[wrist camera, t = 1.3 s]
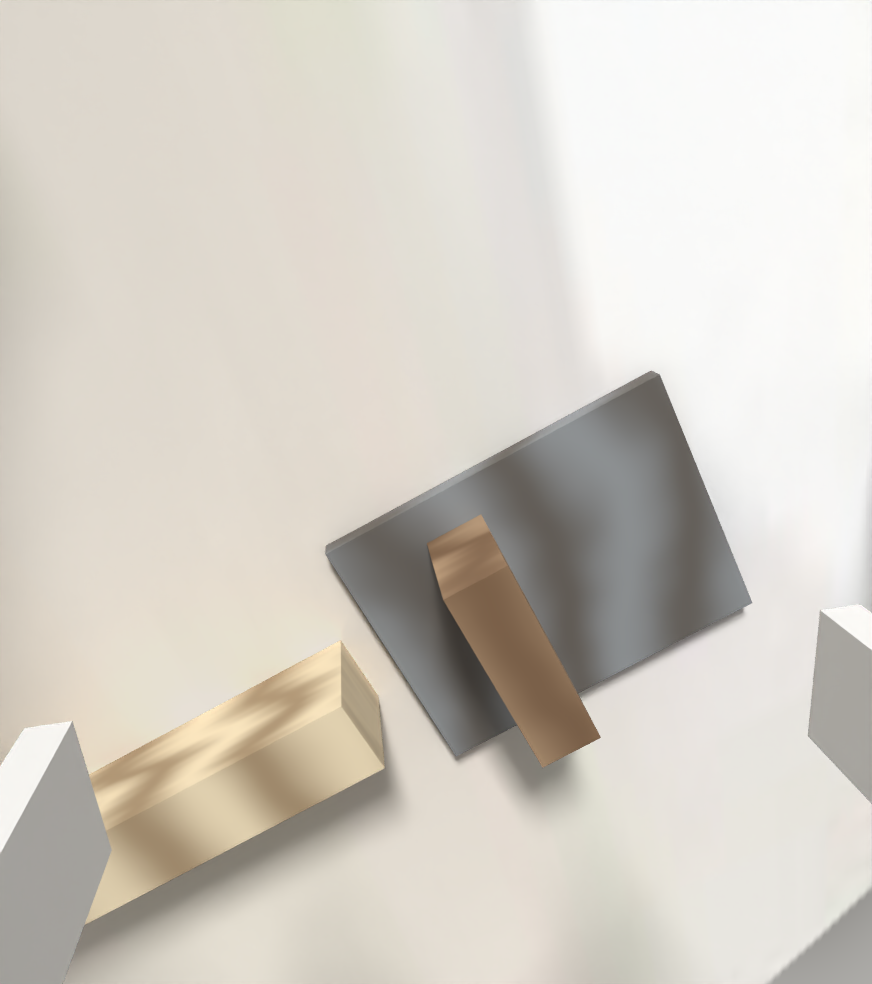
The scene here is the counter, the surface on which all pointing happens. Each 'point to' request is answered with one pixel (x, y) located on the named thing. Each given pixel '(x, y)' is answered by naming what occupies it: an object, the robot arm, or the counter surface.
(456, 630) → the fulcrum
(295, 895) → the counter surface
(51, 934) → the robot arm
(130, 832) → the beech bar
